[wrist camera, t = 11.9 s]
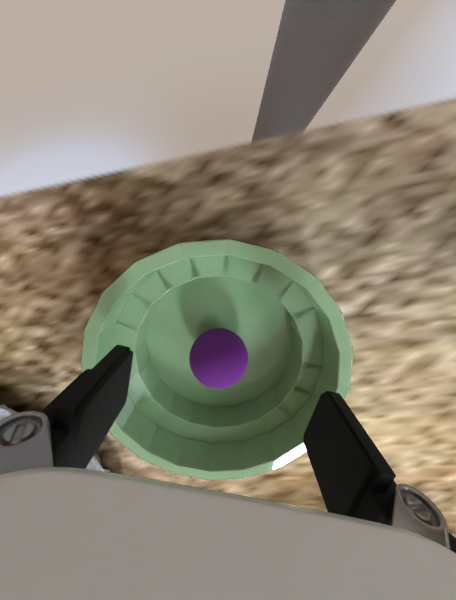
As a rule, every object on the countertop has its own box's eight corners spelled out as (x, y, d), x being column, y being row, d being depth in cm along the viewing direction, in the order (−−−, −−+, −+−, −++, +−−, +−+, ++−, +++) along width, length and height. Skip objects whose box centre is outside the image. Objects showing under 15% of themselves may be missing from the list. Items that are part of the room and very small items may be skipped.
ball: (200, 314, 17) (191, 336, 13) (251, 326, 17) (258, 352, 13) (189, 361, 18) (178, 395, 14) (238, 372, 18) (241, 408, 14)
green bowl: (135, 215, 16) (94, 204, 11) (348, 269, 17) (398, 281, 12) (111, 402, 20) (73, 455, 15) (284, 436, 20) (301, 498, 16)
